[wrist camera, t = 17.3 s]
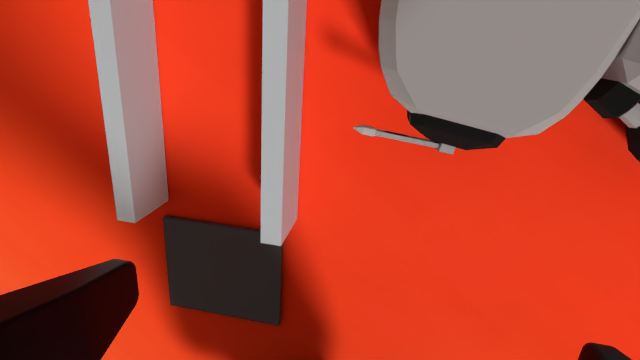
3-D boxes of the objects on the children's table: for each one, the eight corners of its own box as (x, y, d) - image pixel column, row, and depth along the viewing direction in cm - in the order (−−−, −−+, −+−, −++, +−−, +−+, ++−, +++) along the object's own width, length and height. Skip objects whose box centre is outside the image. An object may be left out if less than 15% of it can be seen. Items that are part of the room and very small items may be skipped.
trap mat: (280, 322, 23) (278, 325, 23) (173, 301, 25) (170, 304, 24) (283, 233, 21) (281, 236, 21) (165, 215, 23) (162, 217, 22)
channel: (297, 218, 21) (281, 246, 18) (152, 198, 22) (117, 220, 20) (308, -34, 17) (289, -48, 14) (130, -40, 18) (81, -55, 15)
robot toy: (859, -119, 13) (436, -223, 14) (1081, -190, 9) (464, -334, 10) (661, 195, 18) (346, 110, 18) (749, 245, 14) (338, 133, 14)
